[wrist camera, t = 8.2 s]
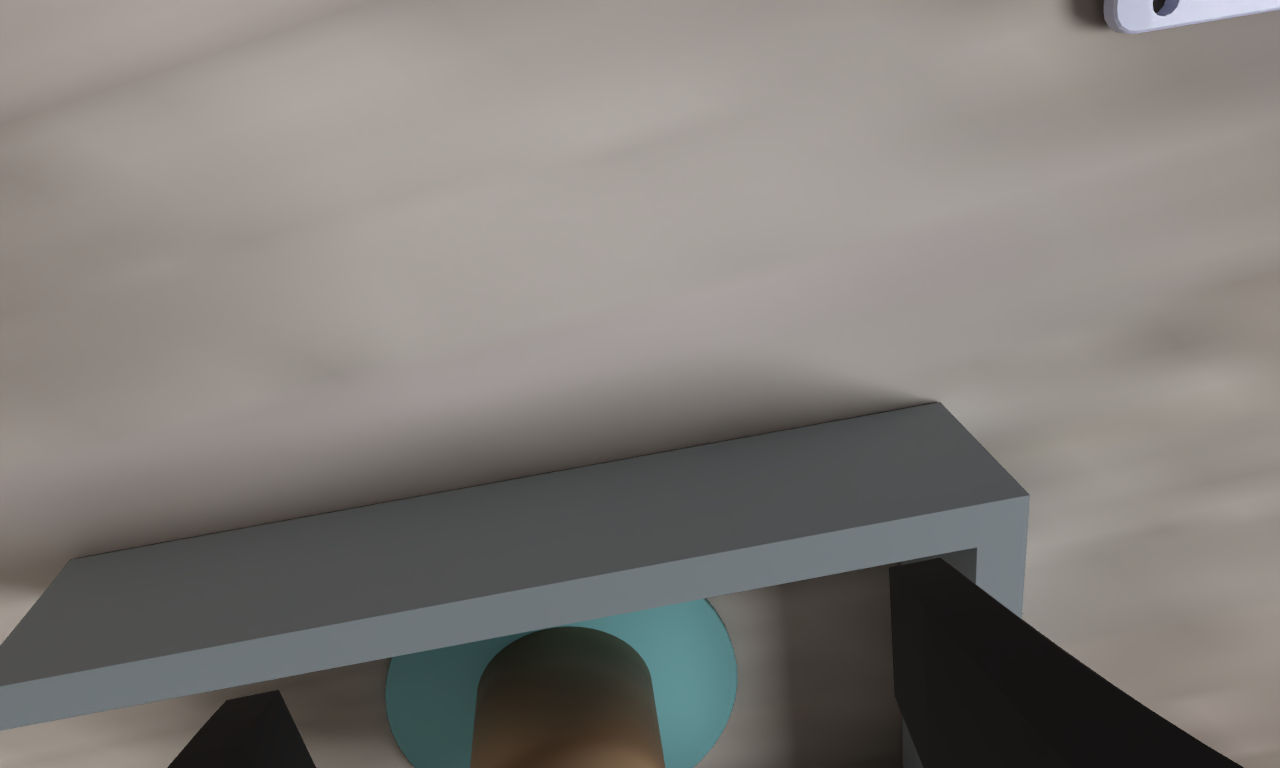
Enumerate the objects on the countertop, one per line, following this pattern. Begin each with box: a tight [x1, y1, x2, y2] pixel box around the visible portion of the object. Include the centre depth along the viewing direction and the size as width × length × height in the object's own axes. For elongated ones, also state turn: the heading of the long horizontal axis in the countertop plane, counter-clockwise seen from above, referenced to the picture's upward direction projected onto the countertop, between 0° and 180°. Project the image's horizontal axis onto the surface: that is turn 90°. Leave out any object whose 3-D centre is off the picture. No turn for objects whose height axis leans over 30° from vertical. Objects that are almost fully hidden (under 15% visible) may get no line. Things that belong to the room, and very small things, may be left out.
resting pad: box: [385, 598, 737, 768], centre depth 22 cm, size 9×9×1 cm
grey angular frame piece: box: [0, 402, 1030, 768], centre depth 20 cm, size 20×13×4 cm, turn 99°
